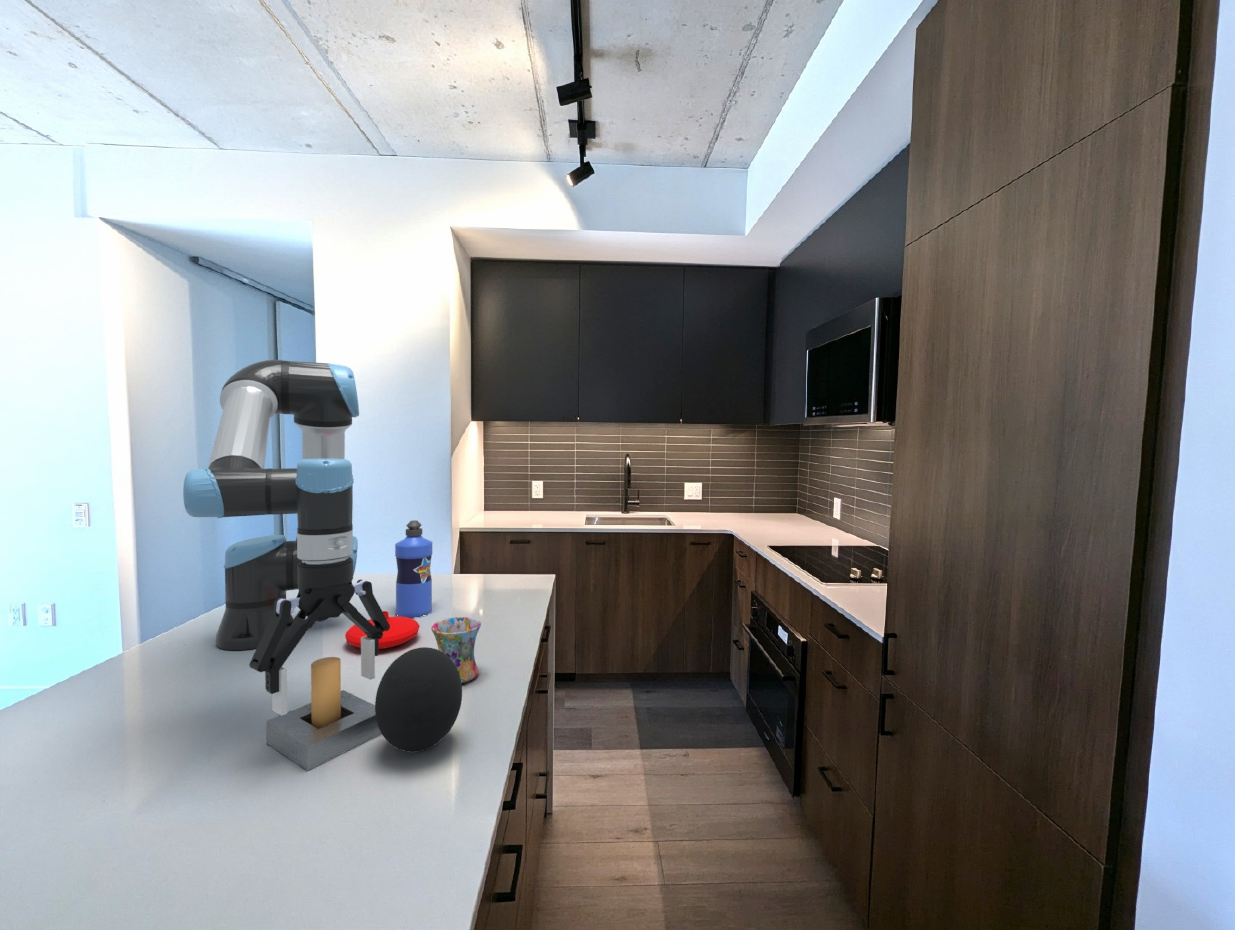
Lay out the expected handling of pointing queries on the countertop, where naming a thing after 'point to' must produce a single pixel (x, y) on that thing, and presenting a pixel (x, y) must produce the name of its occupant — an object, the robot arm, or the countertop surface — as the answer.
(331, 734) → the grey peg socket
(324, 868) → the countertop surface
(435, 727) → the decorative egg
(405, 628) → the red pot lid
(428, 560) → the water bottle
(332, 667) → the orange cylindrical peg
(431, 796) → the countertop surface
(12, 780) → the countertop surface
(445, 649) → the mug
